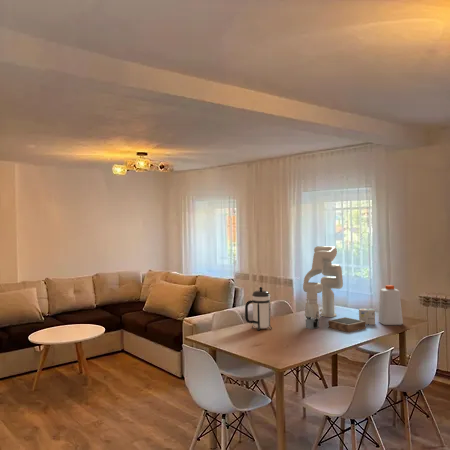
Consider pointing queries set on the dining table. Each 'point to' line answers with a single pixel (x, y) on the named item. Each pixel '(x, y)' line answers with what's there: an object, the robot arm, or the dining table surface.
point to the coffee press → (260, 309)
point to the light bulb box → (367, 316)
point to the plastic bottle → (390, 306)
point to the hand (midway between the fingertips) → (312, 326)
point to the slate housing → (311, 323)
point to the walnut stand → (347, 324)
